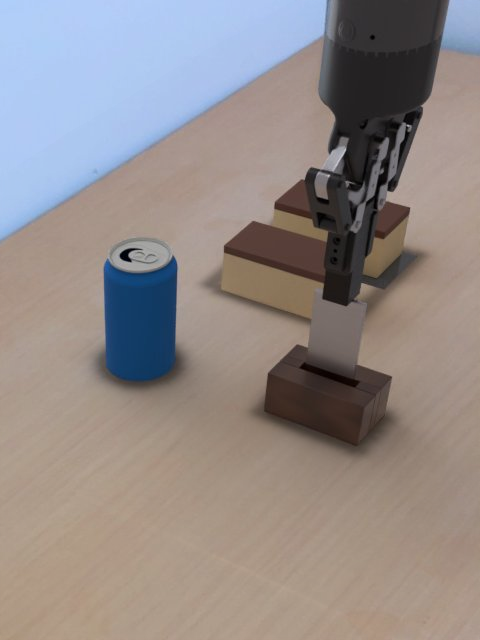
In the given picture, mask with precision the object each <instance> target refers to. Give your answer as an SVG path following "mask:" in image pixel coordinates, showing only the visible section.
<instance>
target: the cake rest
mask: <svg viewBox="0 0 480 640" xmlns="http://www.w3.org/2000/svg"><path fill="white" fill-rule="evenodd" d="M377 211H378V218H377V224H376V230H375V235H374V241H373V247H372V252H371V253H370V254H369V255H368V256H367V257H366V258H365V263H364V269H363V275H367V276H370V277H373V278H378V277H379V276H380V275H381V274H382V273H383V272H384V271H385V270H386V269H387V268H388V267H389V266H390V265H391V264H392V263H393V262H394V261H395V260H396V259H397V258H398V257H399V256H400V255H401V254H402V251H403V247H404V243H405V238H406V233H407V230H408V229H407V228H408V223H409V218H410V214H411V207H410V206H408V205H407V206H406V205H403V204H399V203H395V202H391V201H389V200H388V201H387V200H386V203H385V205H384V206H383V208H382V209H381V210H377ZM271 226H273V227H277V228H280V229H284V230H287V231H291V232H294V233H298V234H301V235H305V236H308V237H312V238H315V239H319V240H322V241H326V242H327V237H328V231H325V230H322V229H318V228H315V227H314V226H313V221H312V216H311V211H310V206H309V202H308V197H307V192H306V187H305V179H303V178H301V179H300V180H299V181H297V182H296V183H295V184H294V185H292V186H291V187H290V188H289V189H288V190H287V191H286V192H284V193H283V194H282V195H281V196H280V197H278V198H277V199H276V200H275V201H274V205H273V215H272V225H271Z"/></svg>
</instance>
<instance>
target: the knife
mask: <svg viewBox="0 0 480 640" xmlns="http://www.w3.org/2000/svg"><path fill="white" fill-rule="evenodd" d="M374 200H375V199H374V198H371V199H369V200H368V201H366V205H365V210H364V215H363V219H362V225H361V227H360V228H361V229H360V235H359V241H358V248H357V254H356V260H355V266H354V269H353V271H352V272H351V273H350V274H349V275H347V276H342V275H339V274H335V273H332V272H329V271H327V270H326V272H325V279H324V287H323V290H321V289H316V290H315V293H314V301H313V309H312V317H311V319H310V326H309V334H308V342H307V348H308V349H307V357H306V364H309V365H312V366H315V367H318V368H321V369H323V370H326V371H329V372H332V373H335V374H338V375H341V376H344V377H347V378H350V379H354V378H355V374H356V368H357V365H358V362H359V355H360V350H361V344H362V337H363V333H364V332H363V331H364V326H365V319H366V313H367V308H368V303H367V302H363V301H360V300H358V299H357V298H358V296H359V295H360V294H361V286H362V283H361V282H362V276H363V269H364V263H365V257H366V251H367V244H368V238H369V232H370V225H371V219H372V213H373V206H374ZM349 206H350V212H352V207H353V203H352V202H351V201H350V200H349ZM356 297H357V298H356ZM355 298H356V299H355ZM354 299H355V300H354Z"/></svg>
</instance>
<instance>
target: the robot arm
mask: <svg viewBox="0 0 480 640" xmlns="http://www.w3.org/2000/svg"><path fill="white" fill-rule="evenodd" d="M450 1H451V0H328V5H327V11H326V21H325V28H324V36H323V43H322V45H323V46H322V53H321V60H320V69H319V70H320V71H319V78H318V87H317V92H318V96H319V99H320V101H321V102H322V103H323V104H324V105H325V106H326V107H327V108H328V109H329V110H330V111H331V112H332V114H333V116H334V122H333V125H332V129H331V131H330V134H329V137H328V143H327V153H328V157H327V159H326V160H325V162H324V164H323V166H321V168H317V167H313V166H310V167H309V168H308V170H307V171H306V174H305V176H304V180H305V187H306V192H307V197H308V202H309V206H310V211H311V216H312V221H313V226H314V227H315V228H318V229H322V230H325V231H328V237H327V244H326V251H325V258H324V268H325V269H326V270H327V271H329V272H332V273H335V274H339V275H342V276H347V275H349V274H350V273H351V272H352V271H353V269H354V266H355V260H356V254H357V248H358V241H359V235H360V229H361V228H360V227H361V225H362V219H363V215H364V210H365V205H366V201H368V200H369V199H371V198H374V199H375V200H374V206H373V213H372V219H371V225H370V232H369V238H368V244H367V251H366V257H367V256H368V255H369V254H370V253H371V252H372V247H373V241H374V235H375V230H376V224H377V218H378V211H377V210H381V209H382V208H383V206H384V205H385V203H386V201H387V196H388V192H389V193H394V192H395V191H396V189H397V187H398V185H399V182H400V179H401V176H402V173H403V170H404V168H405V165H406V161H407V159H408V156H409V153H410V150H411V149H412V148H411V147H412V145H413V142H414V139H415V137H416V133H417V130H418V128H419V126H420V122H421V120H422V117H423V114H424V107H423V105H424V104H425V103H426V102H427V101H428V100H429V99H430V97H431V96H432V92H433V88H434V82H435V78H436V72H437V67H438V61H439V57H440V52H441V46H442V42H443V37H444V32H445V27H446V21H447V16H448V10H449V5H450ZM349 200H350V201H351V202H352V203H353V207H352V212H350V206H349ZM366 257H365V258H366Z"/></svg>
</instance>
